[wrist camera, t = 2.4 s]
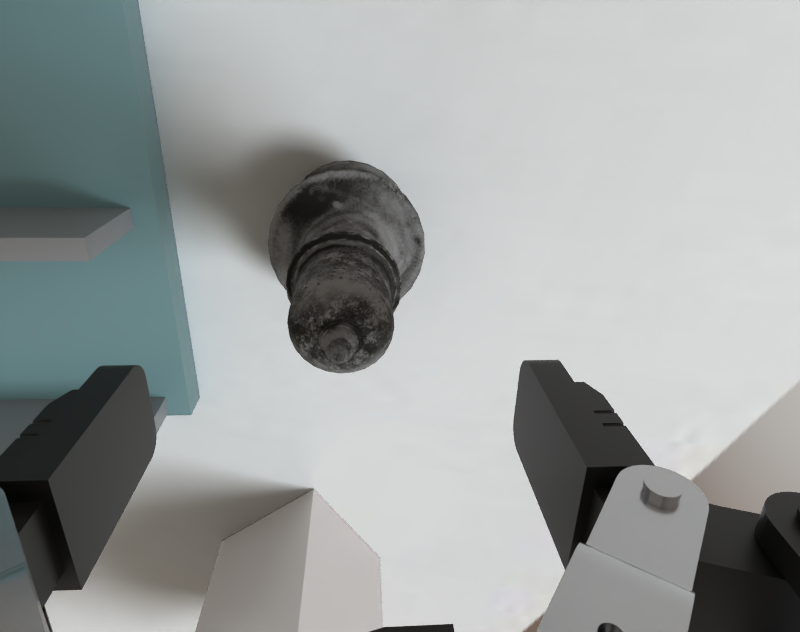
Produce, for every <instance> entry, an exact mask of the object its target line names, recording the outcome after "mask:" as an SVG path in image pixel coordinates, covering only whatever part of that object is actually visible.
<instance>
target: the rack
mask: <svg viewBox="0 0 800 632" xmlns="http://www.w3.org/2000/svg"><path fill="white" fill-rule="evenodd" d="M103 365H140V366H141V367H142V368H143V370H144V372H145V375H146V380H147V385H148V390H149V395H150V400H151V405H152V410H153V415H154V421H155V426H156V434H157V432H158V430H159V428H160V427H161V425H162V423H163V421H164V419H165V417H166V416H167V415H191V414H192V412H193V410H194V408H195V406H196V404H197V402H198V400H199V398H200V396H199V390H198V383H197V377H196V371H195V364H194V358H193V351H192V345H191V338H190V332H189V326H188V319H187V313H186V306H185V300H184V294H183V287H182V281H181V274H180V268H179V261H178V255H177V249H176V242H175V236H174V229H173V223H172V217H171V210H170V204H169V197H168V191H167V184H166V178H165V172H164V165H163V159H162V152H161V146H160V140H159V133H158V127H157V120H156V114H155V108H154V101H153V95H152V88H151V82H150V75H149V69H148V63H147V56H146V50H145V43H144V37H143V31H142V24H141V18H140V11H139V5H138V0H0V456H1V454H2V453H3V452H4V451H5V450H6V449H7V448H8V447H9V446H10V445H11V444H12V443H13V441H14V440H15V439H16V438H20V434H21V433H22V432H23V431H24V430H25V429H26V427H27V426H28V425H29V424H33V420H34V419H35V418H36V417H37V416H38V415H39V413H40V412H41V411H42V410H43V409H44V408H45V407H46V406H47V405H48V404H49V403H51V402H52V401H54V400H56V399H57V398H59V397H61V396H62V395H64V394H66V393H67V392H69V391H71V390H78V389H79V388H80V387H81V386H82V385H83V384H84V383H85V381H86V380H87V379H88V378H89V377H90V376H91V375H92V373H93V372H94V371H95V370H96V369H97V368H98V367H99V366H103Z"/></svg>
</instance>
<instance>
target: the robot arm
mask: <svg viewBox="0 0 800 632" xmlns="http://www.w3.org/2000/svg"><path fill="white" fill-rule="evenodd" d="M513 431H514V441H515V446H516V449H517V452H518V454H519V457H520V459H521V462H522V464H523V467H524V469H525V472H526V474H527V477H528V479H529V482H530V484H531V487H532V489H533V491H534V494H535V496H536V499H537V501H538V504H539V506H540V509H541V511H542V514H543V516H544V519H545V521H546V524H547V526H548V529H549V531H550V534H551V536H552V538H553V541H554V543H555V546H556V548H557V551H558V553H559V556H560V558H561V561H562V563H563V566H564V568H565V572H564V574H563V576H562V578H561V581H560V583H559V585H558V587H557V589H556V591H555V593H554V595H553V597H552V600H551V602H550V604H549V606H548V608H547V610H546V612H545V614H544V616H543V618H542V621H541V623H540V625H539V627H538V629H537V631H536V632H800V493H797V492H780V493H775V494H773V495H771V496H769V497H768V498H767V500H766V501H765V504H764V506H763V509H762V511H761V514H756V513H751V512H746V511H741V510H736V509H731V508H726V507H721V506H717V505H712V504H709V503H708V500H707V498H706V496H705V495H704V494H703V492H702V491H701V490H700V489H699V488H698V487H697V486H696V485H695V484H694V483H693V482H691V481H690V480H689V479H687V478H685V477H684V476H682V475H680V474H678V473H676V472H673V471H671V470H668V469H665V468H662V467H657V466H655V465H654V464H653V462H652V461H651V460H650V458H649V457H648V456H647V454H646V453H645V452H644V450H643V449H642V447H641V446H640V445H639V443H638V442H637V441H636V439H635V438H634V437H633V435H632V434H631V432H630V431H629V430H628V428H627V427H626V426H624V425H623V422H622V420H621V419H620V417H619V416H618V415H617V413H614V409H613V408H612V407H611V405H610V404H609V402H608V401H607V400H606V398H605V397H604V396H603V395H602V394H601V393H599V392H598V391H596V390H595V389H593V388H592V387H590V386H589V385H588V384H586V383H585V382H574V381H573V380H572V378H571V377H570V375H569V374H568V372H567V371H566V369H565V368H564V366H563V365H562V363H561V362H560V361H559V360H525V361H523V362H522V365H521V368H520V374H519V382H518V390H517V398H516V406H515V414H514V424H513ZM155 445H156V426H155V421H154V415H153V410H152V405H151V400H150V395H149V390H148V385H147V380H146V375H145V372H144V370H143V368H142V367H141V366H140V365H103V366H99V367H98V368H97V369H96V370H95V371H94V372H93V373H92V375H91V376H90V377H89V378H88V379H87V380H86V381H85V383H84V384H83V385H82V386H81V387H80V388H79V389H78V390H71V391H69V392H67V393H66V394H64V395H62V396H61V397H59V398H57V399H56V400H54V401H52V402H51V403H49V404H48V405H47V406H46V407H45V408H44V409H43V410H42V411H41V412H40V413H39V415H38V416H37V417H36V418H35V419H34V420H33V424H29V425H28V426H27V427H26V429H25V430H24V431H23V432H22V433H21V434H20V438H16V439H15V440H14V441H13V443H12V444H11V445H10V446H9V447H8V448H7V449H6V450H5V451H4V452H3V453H2V454H1V456H0V632H53V630H52V627H51V624H50V621H49V617H48V614H47V612H46V609H45V606H44V605H45V603H46V602H47V600H48V598H49V596H50V595H51V593H52V591H57V590H82V588H83V586H84V584H85V582H86V580H87V578H88V577H89V575H90V573H91V571H92V569H93V567H94V565H95V564H96V562H97V560H98V558H99V556H100V554H101V552H102V550H103V549H104V547H105V545H106V543H107V541H108V539H109V537H110V535H111V534H112V532H113V530H114V528H115V526H116V524H117V522H118V520H119V519H120V517H121V515H122V513H123V511H124V509H125V507H126V506H127V504H128V502H129V500H130V498H131V496H132V494H133V492H134V491H135V489H136V487H137V485H138V483H139V481H140V479H141V477H142V476H143V474H144V472H145V470H146V468H147V466H148V464H149V462H150V461H151V459H152V457H153V454H154V450H155ZM369 632H454V627H453V624H445V625H423V626H401V627H383V628H379V629H376V630H373V631H369Z"/></svg>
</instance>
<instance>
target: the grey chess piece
mask: <svg viewBox="0 0 800 632" xmlns="http://www.w3.org/2000/svg"><path fill="white" fill-rule="evenodd" d="M268 247H269V253H270V260H271V264H272V267H273V269H274V271H275V273H276V275H277V278H278V280H279V282H280V283H281V284H282V285H283V287H284V288H285V289H286V290H287V295H288V299H289V301H290V303H291V305H290V309H289V315H288V329H289V335H290V339H291V341H292V343H293V345H294V347H295V349H296V351H297V352H298V353H299V354H300V355H301V356H302V357H303V359H304V360H306V361H307V362H309V363H310V364H312V365H313V366H315V367H317V368H320V369H322V370H325V371H329V372H335V373H350V372H355V371H359V370H362V369H365V368H367V367H369V366H370V365H372V364H374V363H375V362H376V361H377V360H378V359H379V358H380V357H381V356H382V355H384V353H385V351H386V350H387V348H388V346H389V344H390V342H391V340H392V335H393V331H394V317H393V313H394V311H395V309H396V307H397V306H398V304H399V300H400V299H401V298H402V297H403V296H404V295H405V294H406V293H407V292H408V291H409V290H410V289H411V287H412V285H413V284H414V282H415V280H416V278H417V276H418V275H419V273H420V270H421V266H422V262H423V258H424V254H425V249H424V232H423V229H422V226H421V222H420V219H419V216H418V213H417V212H416V210H415V209H414V207H413V206H412V204H411V203H410V201H409V200H408V198H407V197H406V196H405V195H404V194H403V193H402V192H401V191H400V189H399V188H398V186H397V185H396V183H395V182H394V181H393V180H392V179H391V178H389V177H388V176H387V175H386V174H385V173H384V172H382V171H380V170H378V169H376V168H374V167H372V166H371V165H369V164H364V163H359V162H354V161H344V162H334V163H331V164H328V165H325V166H323V167H320V168H318V169H317V170H315V171H314V172H312V173H311V174H310V175H308V176H307V177H306V178H305V179H304V180H303V181H302V182H301V183H300V184H298V185H297V186H295V187H294V188H293V189H291V191H290V192H289V193H288V194H287V195H286V197H285V198H284V199H283V200H282V202H281V203H280V204H279V205H278V208H277V210H276V212H275V215H274V217H273V219H272V222H271V224H270V232H269V240H268Z"/></svg>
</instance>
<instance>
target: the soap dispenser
mask: <svg viewBox="0 0 800 632" xmlns="http://www.w3.org/2000/svg"><path fill="white" fill-rule="evenodd" d="M379 628H383V619H382V591H381V564H380V557H379V556H378V555H377V554H376V553H375V552H374V551H373V549H372V548H371V547H370V546H369V545H368V544H367V543H366V542H365V541H364V540H363V539H362V538H361V537H360V536H359V535H358V534H357V533H356V532H355V531H354V530H353V529H352V528H351V527H350V526H349V525H348V524H347V523H346V522H345V521H344V520H343V518H342V517H341V516H340V515H339V514H338V513H337V512H336V511H335V510H334V509H333V508H332V507H331V506H330V505H329V504H328V503H327V502H326V501H325V500H324V499H323V498H322V497H321V496H320V495H319V494H318V493H317V492H316V491H315V490H314V489H313V490H311V491H309V492H308V493H306V494H304V495H302V496H301V497H299V498H297V499H295V500H294V501H292V502H290V503H288V504H287V505H285V506H283V507H281V508H279V509H278V510H276V511H274V512H272V513H271V514H269V515H267V516H265V517H264V518H262V519H260V520H258V521H257V522H255V523H253V524H251V525H250V526H248V527H246V528H244V529H242V530H241V531H239V532H237V533H235V534H234V535H232V536H230V537H228V538H227V539H225V540H223V541H222V542H221V545H220V548H219V552H218V555H217V559H216V562H215V566H214V569H213V572H212V576H211V579H210V583H209V586H208V590H207V593H206V596H205V600H204V603H203V607H202V610H201V614H200V617H199V620H198V624H197V627H196V631H195V632H369V631H373V630H376V629H379Z"/></svg>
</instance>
